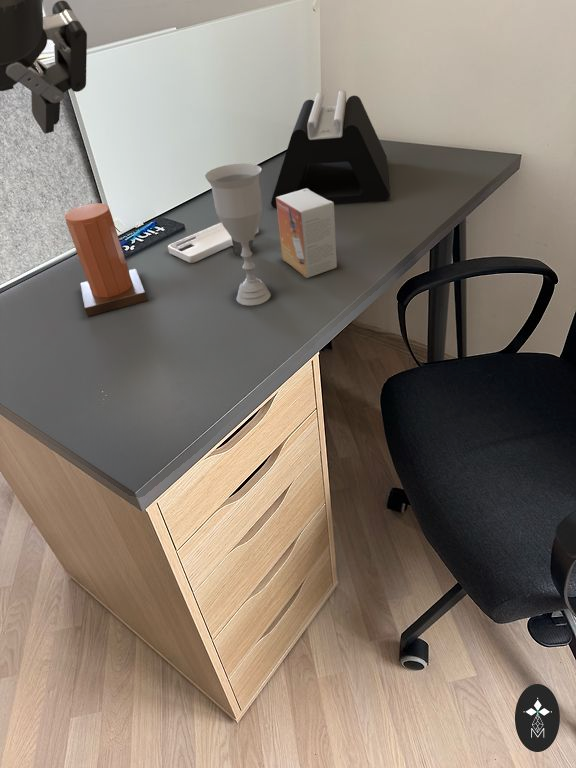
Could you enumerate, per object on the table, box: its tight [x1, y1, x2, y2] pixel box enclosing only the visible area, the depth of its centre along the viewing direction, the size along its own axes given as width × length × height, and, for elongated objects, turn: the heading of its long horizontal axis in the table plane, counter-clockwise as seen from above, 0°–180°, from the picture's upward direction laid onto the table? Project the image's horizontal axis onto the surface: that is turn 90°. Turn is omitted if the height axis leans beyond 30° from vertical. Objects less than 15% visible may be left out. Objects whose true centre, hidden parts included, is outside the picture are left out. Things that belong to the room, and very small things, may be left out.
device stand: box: [270, 89, 391, 209], centre depth 112 cm, size 22×22×15 cm
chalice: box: [204, 163, 272, 306], centre depth 78 cm, size 7×7×18 cm
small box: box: [276, 188, 338, 279], centre depth 86 cm, size 8×6×10 cm
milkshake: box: [229, 234, 254, 257], centre depth 92 cm, size 4×5×10 cm
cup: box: [64, 202, 133, 297], centre depth 84 cm, size 6×6×12 cm
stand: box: [79, 268, 148, 318], centre depth 85 cm, size 9×9×12 cm
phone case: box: [167, 222, 260, 264], centre depth 99 cm, size 7×1×15 cm
